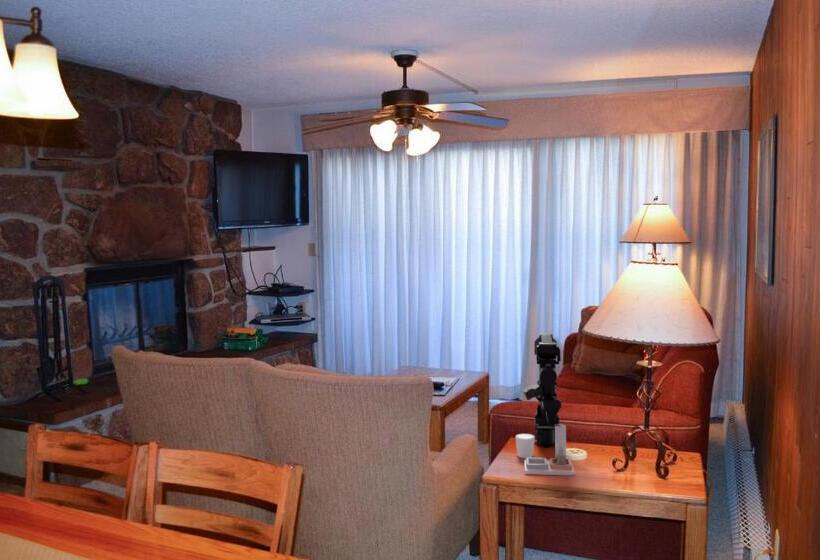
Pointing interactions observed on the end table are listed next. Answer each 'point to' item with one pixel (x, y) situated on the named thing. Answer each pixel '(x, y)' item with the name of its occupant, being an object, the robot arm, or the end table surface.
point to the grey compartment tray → (547, 467)
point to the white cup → (525, 445)
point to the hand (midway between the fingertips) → (547, 421)
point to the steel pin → (560, 444)
